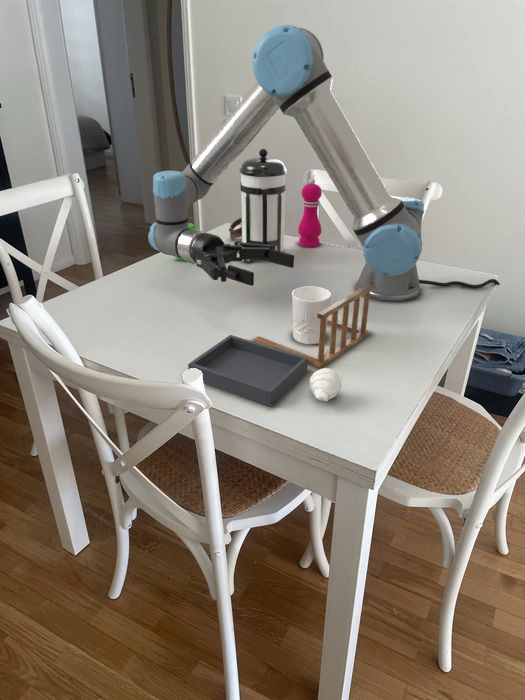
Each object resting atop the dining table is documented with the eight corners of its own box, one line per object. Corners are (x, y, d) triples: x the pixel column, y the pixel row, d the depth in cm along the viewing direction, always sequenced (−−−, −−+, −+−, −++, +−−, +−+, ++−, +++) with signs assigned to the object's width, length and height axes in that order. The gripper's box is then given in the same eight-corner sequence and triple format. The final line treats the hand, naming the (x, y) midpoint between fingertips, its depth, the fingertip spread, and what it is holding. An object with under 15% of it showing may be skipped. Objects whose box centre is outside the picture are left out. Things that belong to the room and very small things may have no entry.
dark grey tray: (307, 371, 101) (308, 357, 100) (270, 406, 91) (270, 392, 90) (230, 347, 109) (230, 334, 108) (188, 377, 99) (187, 363, 98)
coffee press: (224, 256, 157) (220, 148, 143) (264, 245, 167) (264, 142, 152) (264, 272, 146) (265, 157, 132) (304, 259, 156) (309, 150, 141)
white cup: (303, 325, 118) (304, 283, 113) (334, 335, 114) (337, 291, 109) (283, 339, 113) (284, 295, 108) (315, 349, 109) (318, 304, 104)
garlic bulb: (305, 409, 91) (306, 382, 88) (310, 390, 96) (311, 364, 93) (338, 413, 90) (340, 386, 87) (340, 393, 95) (343, 367, 92)
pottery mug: (263, 246, 167) (250, 225, 162) (236, 257, 171) (223, 237, 166) (265, 226, 176) (253, 205, 171) (240, 236, 179) (228, 216, 174)
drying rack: (305, 313, 124) (308, 266, 118) (368, 334, 115) (374, 285, 109) (254, 342, 111) (254, 292, 106) (319, 368, 102) (323, 315, 97)
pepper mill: (324, 246, 166) (328, 180, 156) (302, 248, 164) (305, 181, 154) (315, 239, 172) (319, 175, 162) (294, 241, 170) (296, 176, 160)
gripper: (238, 250, 135) (307, 270, 123) (162, 278, 118) (234, 305, 106) (237, 221, 131) (308, 238, 119) (159, 245, 114) (233, 269, 103)
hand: (273, 270), depth 113 cm, fingers open, 13 cm apart
